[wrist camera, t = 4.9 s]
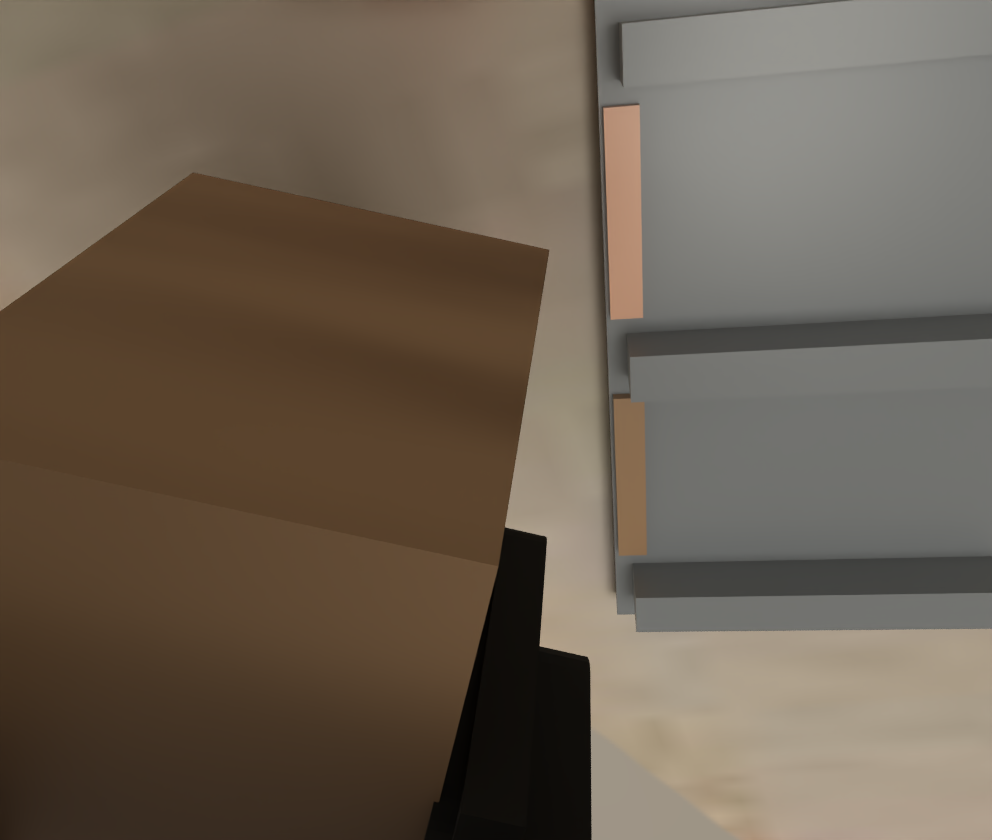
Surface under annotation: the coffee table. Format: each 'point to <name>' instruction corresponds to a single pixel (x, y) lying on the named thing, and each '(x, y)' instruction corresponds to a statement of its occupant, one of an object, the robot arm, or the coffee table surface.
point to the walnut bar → (252, 517)
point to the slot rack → (798, 311)
